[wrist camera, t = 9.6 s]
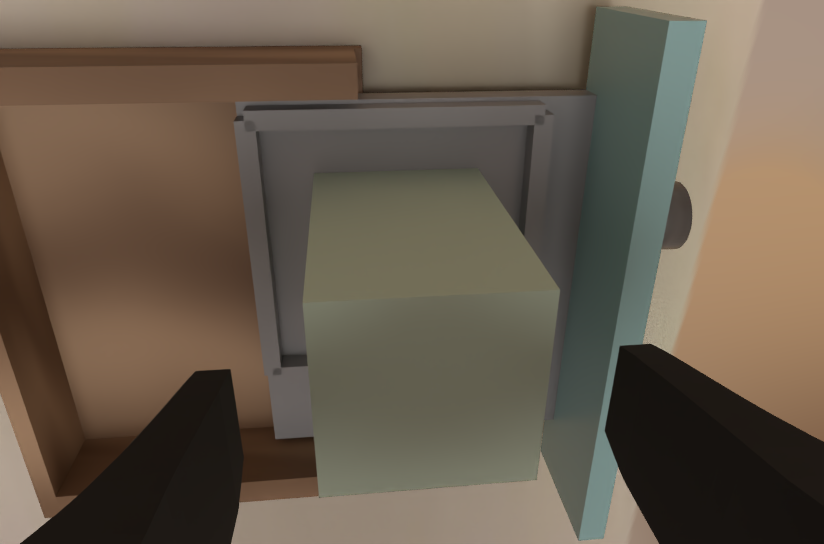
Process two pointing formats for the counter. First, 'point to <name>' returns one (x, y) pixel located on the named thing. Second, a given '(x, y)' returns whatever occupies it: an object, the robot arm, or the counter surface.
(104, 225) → the brown shallow rectangular box
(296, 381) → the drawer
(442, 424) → the block
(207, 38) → the counter surface
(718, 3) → the counter surface
